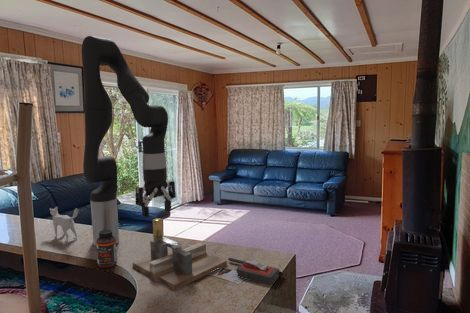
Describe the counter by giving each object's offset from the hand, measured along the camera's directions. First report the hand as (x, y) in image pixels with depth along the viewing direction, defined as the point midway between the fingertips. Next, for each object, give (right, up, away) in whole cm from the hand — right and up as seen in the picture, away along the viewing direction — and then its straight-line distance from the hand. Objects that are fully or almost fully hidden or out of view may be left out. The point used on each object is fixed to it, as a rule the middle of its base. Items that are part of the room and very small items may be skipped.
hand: (157, 214), depth 115 cm
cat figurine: (-41, -14, +22) cm, 48 cm away
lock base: (+8, -16, -4) cm, 18 cm away
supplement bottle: (-16, -16, -2) cm, 23 cm away
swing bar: (+4, -9, -2) cm, 10 cm away
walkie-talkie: (+31, -17, -9) cm, 36 cm away
